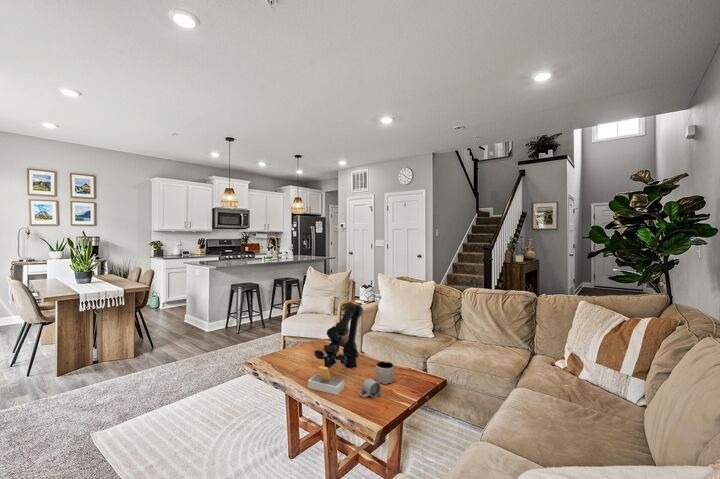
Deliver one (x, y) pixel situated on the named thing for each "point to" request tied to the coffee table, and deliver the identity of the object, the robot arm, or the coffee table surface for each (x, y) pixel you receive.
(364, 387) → the ceramic mug
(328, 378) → the lever
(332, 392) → the breaker housing
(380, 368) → the planter
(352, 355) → the robot arm
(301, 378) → the coffee table surface
